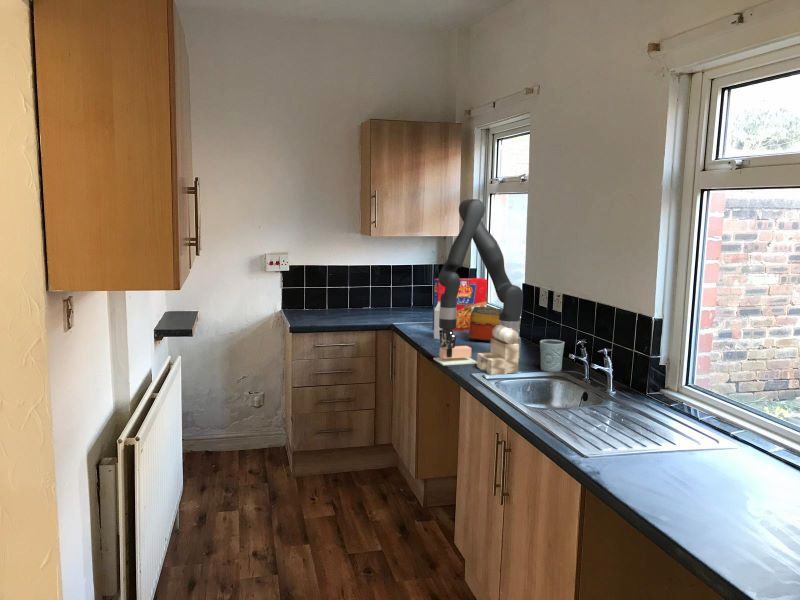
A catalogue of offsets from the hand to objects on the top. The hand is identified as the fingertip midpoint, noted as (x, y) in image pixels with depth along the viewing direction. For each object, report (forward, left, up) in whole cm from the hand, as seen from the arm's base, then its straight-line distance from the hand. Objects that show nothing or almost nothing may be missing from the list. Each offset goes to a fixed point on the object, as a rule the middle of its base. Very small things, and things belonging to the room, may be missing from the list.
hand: (446, 355), depth 294 cm
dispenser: (-15, +19, -3) cm, 24 cm away
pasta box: (-35, -70, -3) cm, 78 cm away
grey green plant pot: (-38, +23, -3) cm, 45 cm away
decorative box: (-39, -40, -3) cm, 56 cm away
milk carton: (-17, -48, -3) cm, 51 cm away
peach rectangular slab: (-4, 0, -1) cm, 4 cm away
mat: (-4, 0, -3) cm, 5 cm away
